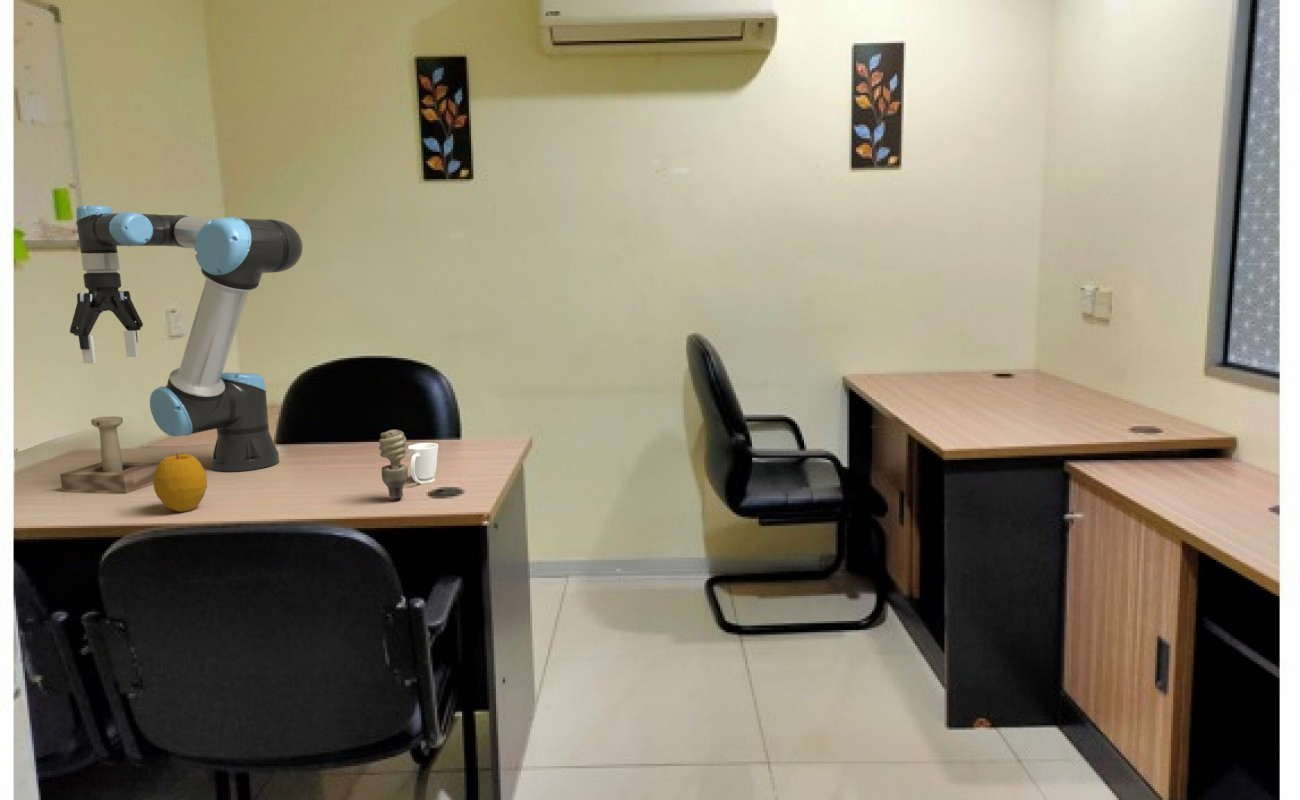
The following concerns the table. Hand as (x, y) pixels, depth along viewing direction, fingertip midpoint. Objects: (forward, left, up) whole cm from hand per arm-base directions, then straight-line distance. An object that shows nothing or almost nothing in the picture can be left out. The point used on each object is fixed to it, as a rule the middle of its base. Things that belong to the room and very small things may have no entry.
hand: (111, 360), depth 212 cm
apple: (-42, +33, -27) cm, 60 cm away
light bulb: (-83, +22, -27) cm, 90 cm away
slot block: (-12, +17, -27) cm, 34 cm away
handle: (-12, +17, -26) cm, 33 cm away
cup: (-82, +7, -27) cm, 86 cm away
